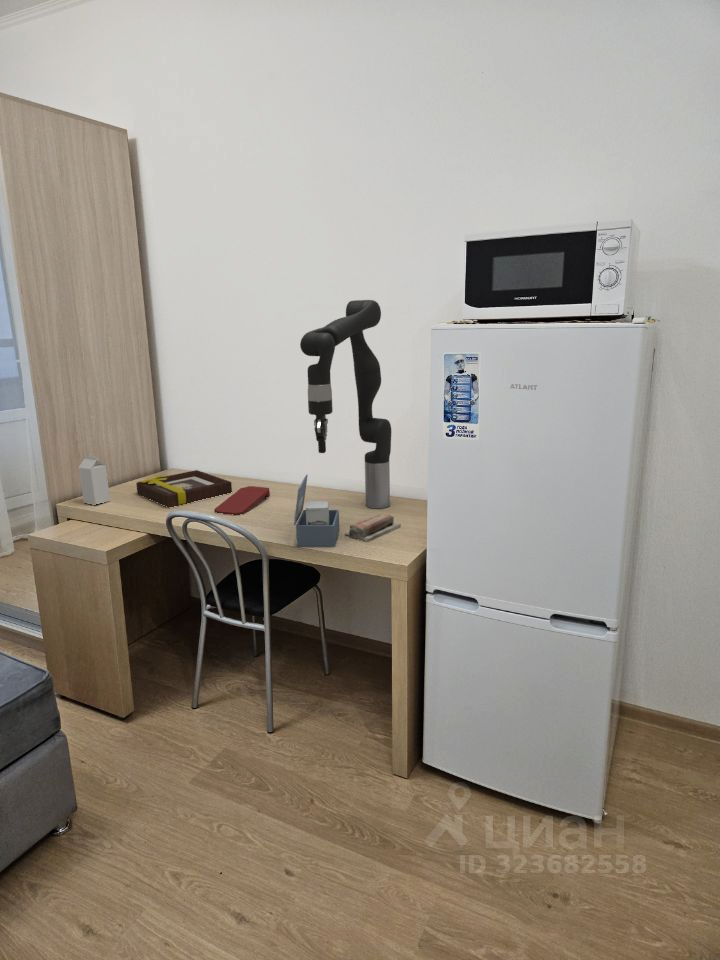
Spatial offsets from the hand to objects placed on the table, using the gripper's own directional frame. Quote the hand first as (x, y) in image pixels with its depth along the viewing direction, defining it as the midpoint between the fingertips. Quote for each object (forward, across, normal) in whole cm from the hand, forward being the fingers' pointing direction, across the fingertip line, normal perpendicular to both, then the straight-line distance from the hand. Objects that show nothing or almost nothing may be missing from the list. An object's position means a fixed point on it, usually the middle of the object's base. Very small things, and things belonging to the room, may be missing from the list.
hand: (322, 452), depth 203 cm
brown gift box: (+29, -50, -65) cm, 87 cm away
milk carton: (+29, -38, -96) cm, 107 cm away
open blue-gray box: (+28, +2, -2) cm, 28 cm away
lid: (+15, +2, -7) cm, 17 cm away
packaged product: (+29, -4, +16) cm, 33 cm away
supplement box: (+29, +4, -2) cm, 29 cm away
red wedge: (+29, -35, -36) cm, 58 cm away
